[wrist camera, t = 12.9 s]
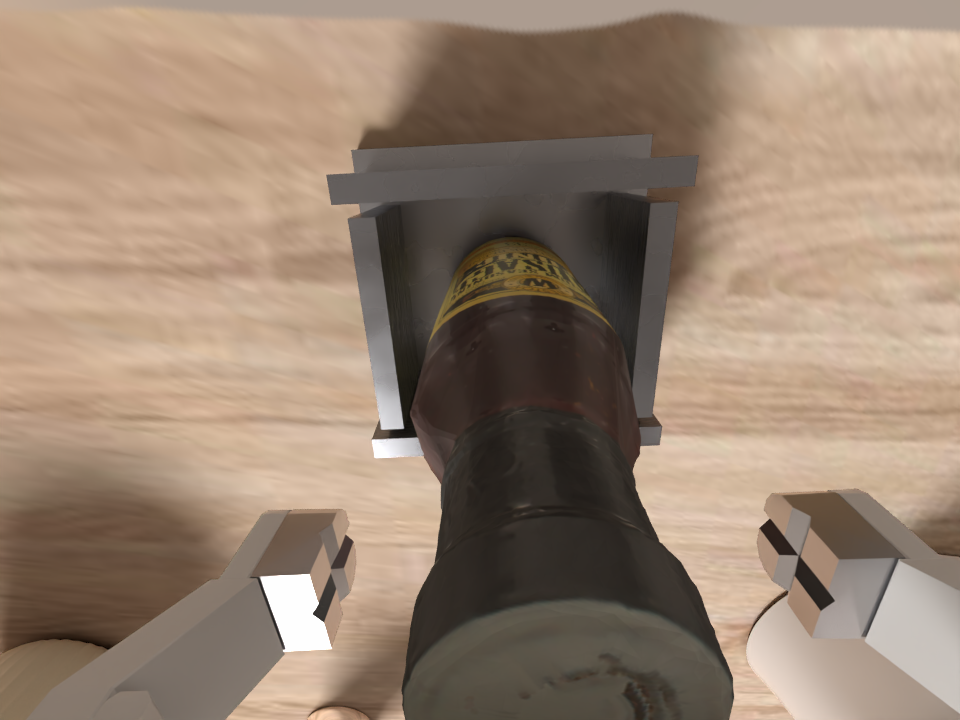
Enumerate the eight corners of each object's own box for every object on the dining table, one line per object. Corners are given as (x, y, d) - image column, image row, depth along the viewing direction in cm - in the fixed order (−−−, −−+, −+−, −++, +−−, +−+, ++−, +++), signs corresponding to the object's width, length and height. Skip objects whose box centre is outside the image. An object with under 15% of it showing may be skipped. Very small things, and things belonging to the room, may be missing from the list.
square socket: (645, 135, 21) (717, 121, 15) (622, 392, 27) (668, 462, 21) (356, 150, 22) (306, 143, 15) (392, 403, 27) (367, 476, 21)
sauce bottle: (579, 241, 22) (1031, 561, 4) (554, 353, 25) (770, 864, 7) (450, 222, 22) (333, 488, 4) (437, 338, 24) (328, 841, 6)
